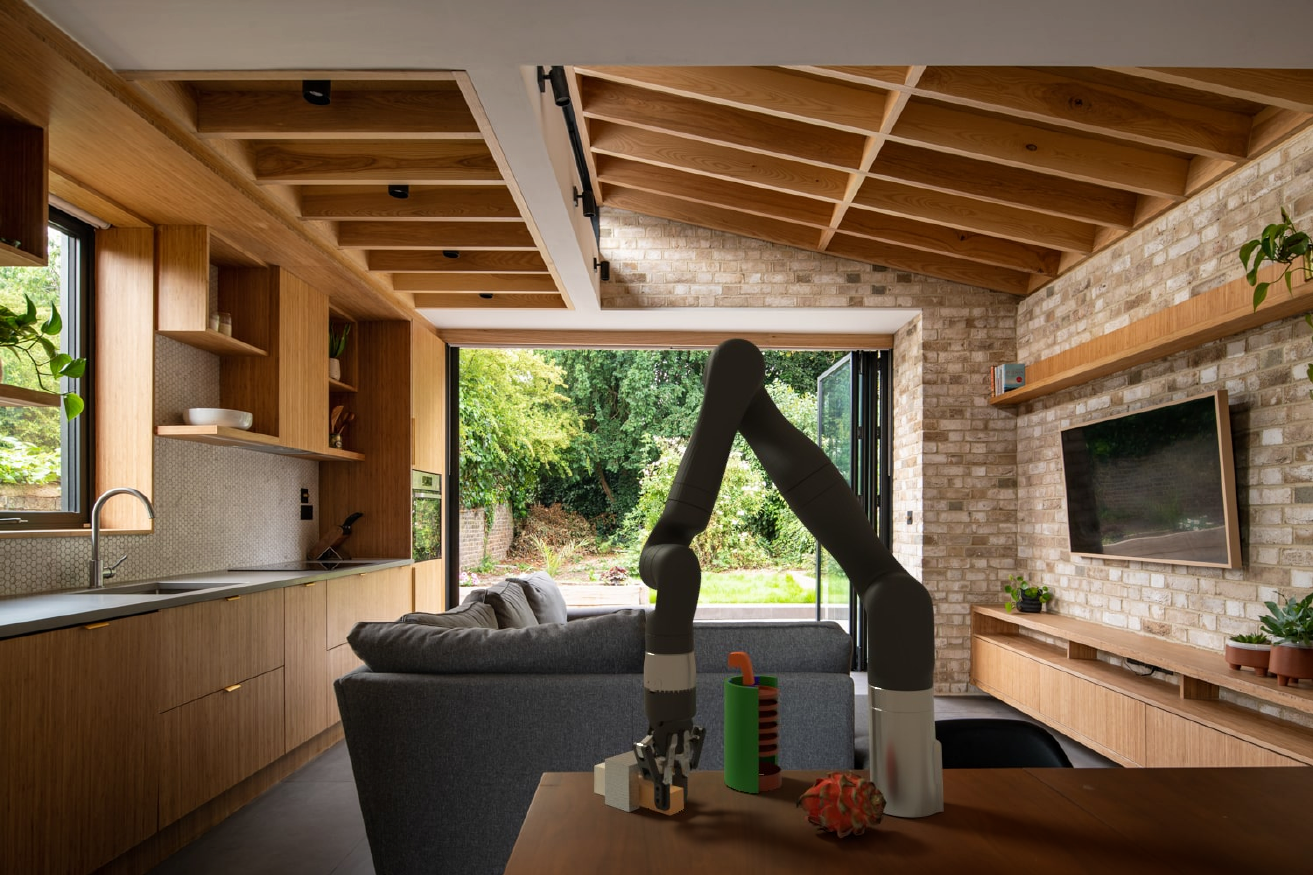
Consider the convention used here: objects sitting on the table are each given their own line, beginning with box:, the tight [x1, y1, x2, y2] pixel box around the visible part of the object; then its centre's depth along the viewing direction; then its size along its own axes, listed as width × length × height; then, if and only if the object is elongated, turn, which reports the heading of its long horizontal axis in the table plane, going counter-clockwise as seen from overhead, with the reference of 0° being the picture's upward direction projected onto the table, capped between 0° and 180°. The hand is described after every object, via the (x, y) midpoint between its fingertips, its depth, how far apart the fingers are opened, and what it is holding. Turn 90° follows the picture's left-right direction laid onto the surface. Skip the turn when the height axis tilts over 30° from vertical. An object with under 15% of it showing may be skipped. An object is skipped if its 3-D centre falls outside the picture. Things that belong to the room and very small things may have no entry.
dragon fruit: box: [794, 770, 887, 839], centre depth 114 cm, size 8×8×12 cm
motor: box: [723, 651, 783, 794], centre depth 134 cm, size 10×9×20 cm
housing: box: [604, 750, 673, 813], centre depth 127 cm, size 5×9×6 cm, turn 137°
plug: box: [593, 761, 685, 816], centre depth 126 cm, size 15×4×4 cm, turn 47°
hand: (671, 805), depth 122 cm, fingers closed on plug, 3 cm apart
